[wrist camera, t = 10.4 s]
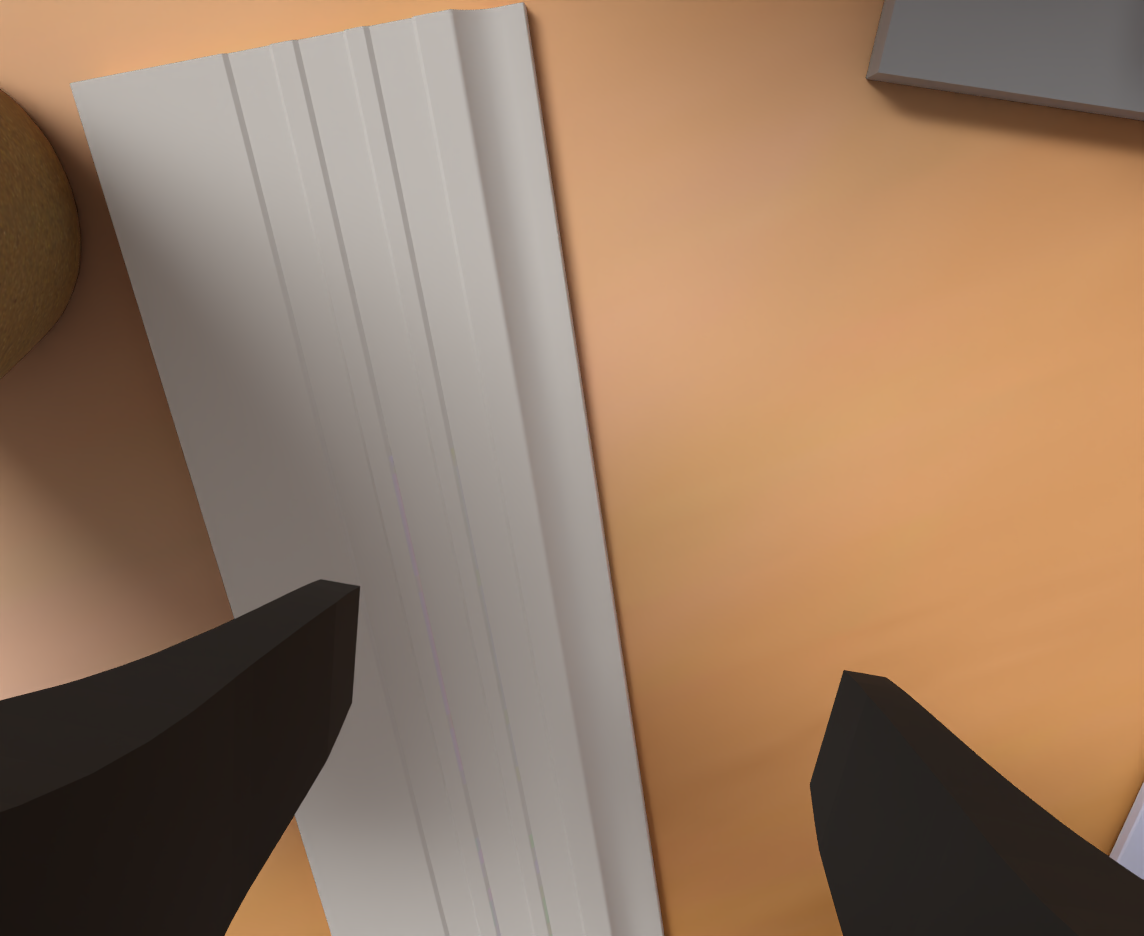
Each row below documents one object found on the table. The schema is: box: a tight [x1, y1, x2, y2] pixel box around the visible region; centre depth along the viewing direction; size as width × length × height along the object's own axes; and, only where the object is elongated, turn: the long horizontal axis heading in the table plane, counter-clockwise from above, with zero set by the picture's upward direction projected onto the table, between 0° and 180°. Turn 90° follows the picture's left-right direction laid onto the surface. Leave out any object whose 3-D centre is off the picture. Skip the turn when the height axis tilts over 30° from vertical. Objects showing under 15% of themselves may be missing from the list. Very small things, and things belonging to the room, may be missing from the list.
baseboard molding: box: [70, 2, 664, 936], centre depth 23 cm, size 31×3×12 cm
